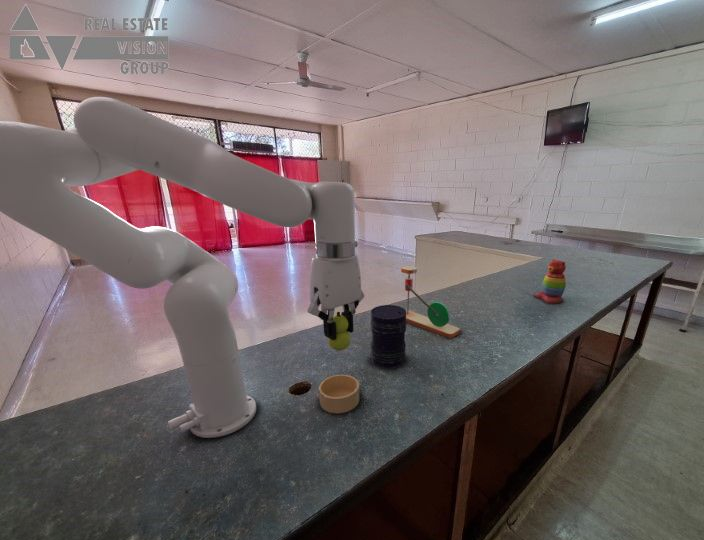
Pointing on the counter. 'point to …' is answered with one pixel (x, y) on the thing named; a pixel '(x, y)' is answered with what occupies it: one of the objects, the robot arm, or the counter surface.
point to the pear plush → (340, 333)
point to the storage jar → (388, 336)
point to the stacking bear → (553, 283)
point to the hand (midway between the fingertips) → (339, 333)
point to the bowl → (339, 393)
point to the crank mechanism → (428, 312)
